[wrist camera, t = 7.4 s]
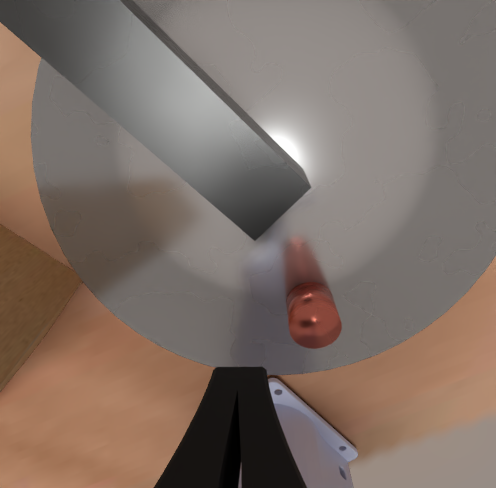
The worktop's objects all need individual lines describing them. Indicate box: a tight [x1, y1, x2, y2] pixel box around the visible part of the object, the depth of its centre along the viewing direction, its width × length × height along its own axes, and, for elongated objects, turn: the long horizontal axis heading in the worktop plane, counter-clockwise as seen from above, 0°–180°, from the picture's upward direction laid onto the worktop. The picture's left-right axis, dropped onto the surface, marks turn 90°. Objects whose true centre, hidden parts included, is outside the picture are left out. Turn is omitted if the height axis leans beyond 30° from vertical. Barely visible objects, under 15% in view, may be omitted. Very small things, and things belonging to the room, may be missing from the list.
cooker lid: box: [0, 0, 496, 375], centre depth 10 cm, size 17×14×3 cm
